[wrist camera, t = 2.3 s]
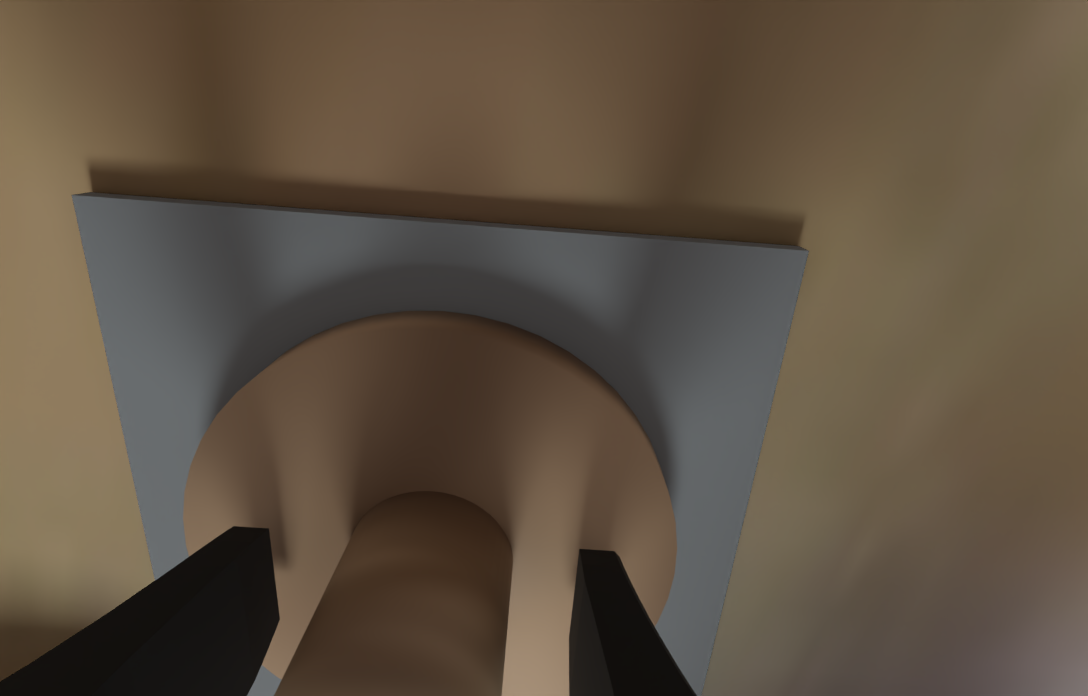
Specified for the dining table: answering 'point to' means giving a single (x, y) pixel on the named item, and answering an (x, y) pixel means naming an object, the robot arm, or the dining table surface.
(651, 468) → the lid
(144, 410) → the mat
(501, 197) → the dining table surface
